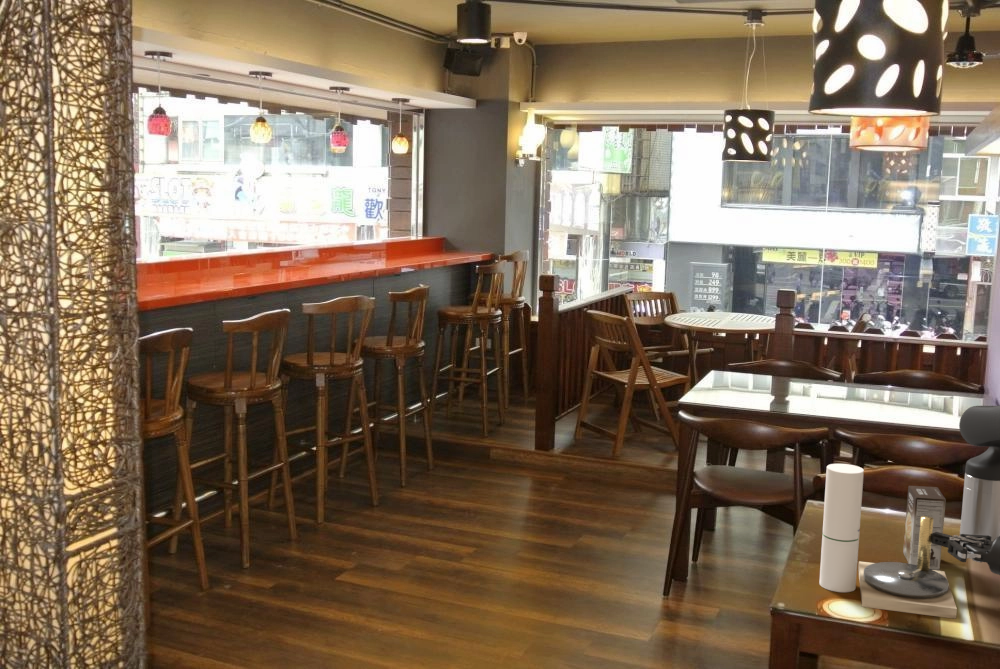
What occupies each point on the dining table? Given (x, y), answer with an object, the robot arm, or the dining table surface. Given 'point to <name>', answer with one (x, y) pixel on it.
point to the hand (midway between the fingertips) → (932, 537)
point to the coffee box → (918, 505)
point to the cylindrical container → (841, 527)
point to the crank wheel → (910, 571)
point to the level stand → (906, 599)
